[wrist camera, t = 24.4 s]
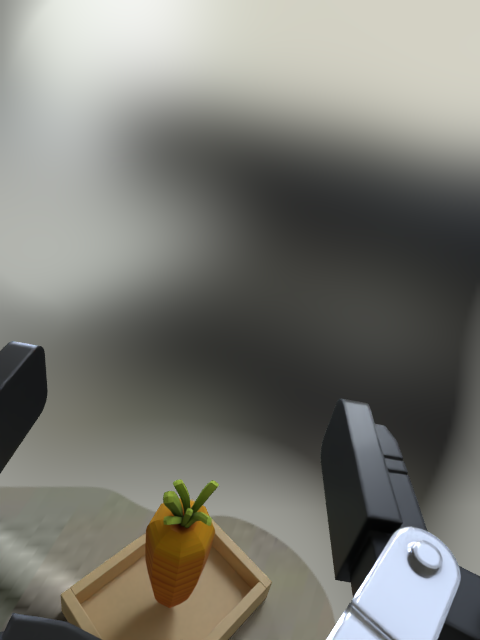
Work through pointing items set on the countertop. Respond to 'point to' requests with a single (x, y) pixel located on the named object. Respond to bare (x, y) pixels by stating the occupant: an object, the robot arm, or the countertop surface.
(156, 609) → the tray
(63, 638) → the robot arm
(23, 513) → the countertop surface
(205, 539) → the carrot
